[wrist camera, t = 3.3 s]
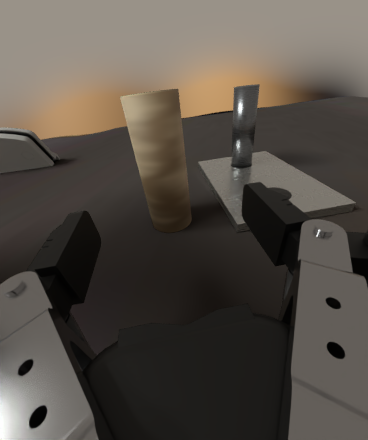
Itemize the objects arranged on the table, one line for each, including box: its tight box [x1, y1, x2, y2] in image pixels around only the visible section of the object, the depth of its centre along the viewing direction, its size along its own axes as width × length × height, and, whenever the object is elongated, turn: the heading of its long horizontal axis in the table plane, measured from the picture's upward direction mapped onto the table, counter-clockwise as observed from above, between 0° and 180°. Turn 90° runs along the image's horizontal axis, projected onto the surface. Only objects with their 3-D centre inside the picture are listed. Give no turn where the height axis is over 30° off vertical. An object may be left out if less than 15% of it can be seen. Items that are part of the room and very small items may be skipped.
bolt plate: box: [198, 85, 356, 232], centre depth 23 cm, size 12×18×11 cm, turn 8°
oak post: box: [120, 89, 192, 233], centre depth 18 cm, size 4×4×12 cm
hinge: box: [0, 128, 60, 173], centre depth 42 cm, size 17×5×10 cm, turn 96°
